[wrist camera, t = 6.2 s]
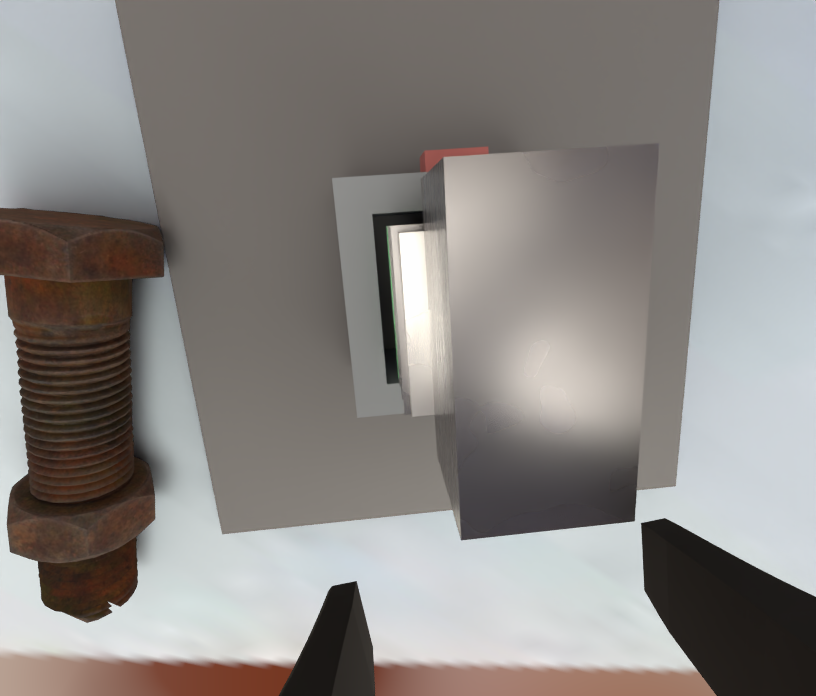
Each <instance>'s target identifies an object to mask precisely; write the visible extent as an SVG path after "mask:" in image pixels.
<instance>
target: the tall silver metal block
mask: <svg viewBox="0 0 816 696" xmlns="http://www.w3.org/2000/svg"><path fill="white" fill-rule="evenodd" d="M658 156H659V143H653V144H638V145H622V146H607V147H591V148H576V149H560V150H545V151H529V152H514V153H498V154H483V155H467V156H451V157H443V158H442V159H441V160H440V161H439V162H438V163H437V164H436V165H435V166H434V167H433V168H432V169H431V170H430V171H429V172H427V173H426V174H425V175H424V176H423V177H422V178H421V191H422V208H423V223H422V224H408V225H395V226H386V233H387V245H388V258H389V271H390V283H391V296H392V309H393V321H394V334H395V347H396V359H397V372H398V378H399V384H400V386H401V395H402V400H403V402H404V413H405V415H409V414H412V417H416V416H427V415H435V429H436V446H437V457H438V460H439V464H440V467H441V471H442V474H443V478H444V482H445V485H446V489H447V492H448V496H449V499H450V503H451V506H452V510H453V513H454V517H455V520H456V524H457V528H458V531H459V535H460V538H461V540H468V539H477V538H486V537H496V536H505V535H514V534H523V533H532V532H541V531H550V530H559V529H568V528H578V527H587V526H596V525H605V524H614V523H623V522H632V521H635V507H636V491H637V476H638V461H639V446H640V431H641V415H642V400H643V385H644V370H645V354H646V339H647V324H648V309H649V294H650V278H651V263H652V248H653V233H654V217H655V202H656V187H657V172H658Z"/></svg>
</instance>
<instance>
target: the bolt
mask: <svg viewBox="0 0 816 696" xmlns="http://www.w3.org/2000/svg"><path fill="white" fill-rule="evenodd" d="M0 275H4V279H5V288H6V298H7V307H8V316H9V317H10V318H11V319H12V322H13V326H14V327H15V330H14V335H15V336H16V337H17V340H16V342H15V343H16V346H17V347H18V350H17V352H16V353H17V355H18V357H19V360H18V362H17V363H18V366H19V367H20V368H19V370H18V375H19V376H20V377H21V378H20V379H19V384H20V386H21V387H22V388H21V390H20V391H19V392H20V395H21V396H22V399H21V405H22V406H23V407H22V413H23V414H24V416H23V423H24V429H23V430H24V431H25V433H26V434H25V441H26V444H25V445H26V449H27V453H26V454H27V458H28V459H29V460H28V462H27V464H28V467H29V470H28V474H27V475H26V476H24V477H23V478H22V479H21V480H20V481H18V482H17V483H16V484H15V485H14V486H13V487H12V490H11V493H10V497H9V505H8V516H7V530H8V538H9V547H10V552H11V553H14V554H17V555H20V556H23V557H26V558H28V559H31V560H35V561H38V569H39V578H40V587H41V599H42V601H43V603H44V605H45V606H47V607H48V608H50V609H52V610H54V611H59V612H64V613H66V614H68V615H70V616H73V617H75V618H77V619H80V620H82V621H84V622H87V623H88V622H92V621H95V620H99V619H100V618H102V617H104V616H106V615H108V614H110V613H112V611H111V610H110V609H109V607H111V605H110V604H109V603H108V602H110V603H113V604H115V605H118V606H120V607H121V606H122V605H123V604H124V603H126V602H127V601H128V600H129V598H130V597H131V596H132V594H133V593H134V591H135V589H136V587H137V583H138V580H137V576H138V570H137V549H136V541H137V539H136V536H137V535H139V534H140V533H141V532H142V531H143V530H144V529H145V528H146V527H147V526H148V525H149V524H150V523H151V522H152V521H154V520H155V493H154V486H153V480H152V475H151V470H150V467H149V465H148V463H146V462H144V461H143V460H141V459H139V458H137V457H134V456H133V455H134V449H133V446H134V442H133V437H134V436H133V434H132V430H133V426H132V401H131V399H132V393H131V390H132V385H131V380H132V377H131V376H130V374H131V372H132V369H131V367H130V365H131V359H130V355H131V351H130V349H129V348H130V340H129V339H130V332H129V331H128V330H129V329H130V318H131V317H132V279H140V278H156V277H164V245H163V239H162V235H161V232H160V230H159V228H158V227H157V226H155V225H151V224H146V223H142V222H137V221H131V220H125V219H117V218H110V217H105V216H98V215H88V214H78V213H68V212H55V211H43V210H32V209H25V208H17V209H10V208H0Z"/></svg>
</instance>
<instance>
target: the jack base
mask: <svg viewBox="0 0 816 696" xmlns="http://www.w3.org/2000/svg"><path fill="white" fill-rule="evenodd" d="M115 3H116V8H117V13H118V18H119V23H120V28H121V33H122V38H123V43H124V48H125V53H126V58H127V63H128V68H129V73H130V78H131V83H132V87H133V92H134V97H135V102H136V107H137V112H138V117H139V122H140V127H141V132H142V137H143V142H144V147H145V152H146V157H147V162H148V167H149V172H150V177H151V182H152V187H153V192H154V197H155V202H156V207H157V212H158V217H159V222H160V227H161V232H162V237H163V242H164V247H165V252H166V257H167V262H168V267H169V272H170V277H171V281H172V286H173V291H174V296H175V301H176V306H177V311H178V316H179V321H180V326H181V331H182V336H183V341H184V346H185V351H186V356H187V361H188V366H189V371H190V376H191V381H192V386H193V391H194V396H195V401H196V406H197V411H198V416H199V421H200V426H201V431H202V436H203V441H204V446H205V451H206V456H207V461H208V466H209V471H210V476H211V480H212V485H213V490H214V495H215V500H216V505H217V510H218V515H219V520H220V525H221V530H222V534H229V533H238V532H248V531H257V530H266V529H276V528H285V527H295V526H304V525H314V524H323V523H332V522H342V521H351V520H361V519H370V518H380V517H389V516H399V515H408V514H417V513H427V512H436V511H446V510H452V506H451V503H450V499H449V496H448V492H447V489H446V485H445V482H444V478H443V474H442V471H441V467H440V464H439V460H438V457H437V446H436V429H435V415H427V416H416V417H412V414H409V415H405V413H404V402H403V400H402V395H401V386H400V384H399V378H398V372H397V359H396V347H395V334H394V321H393V309H392V296H391V283H390V271H389V258H388V245H387V233H386V226H395V225H408V224H422V223H423V208H422V191H421V178H422V177H423V176H424V175H425V174H426V173H427V172H429V171H430V170H431V169H432V168H433V167H434V166H435V165H436V164H437V163H438V162H439V161H440V160H441V159H442V158H443V157H451V156H467V155H483V154H498V153H514V152H529V151H545V150H560V149H576V148H591V147H607V146H622V145H638V144H653V143H659V156H658V172H657V187H656V202H655V217H654V233H653V248H652V263H651V278H650V294H649V309H648V324H647V339H646V354H645V370H644V385H643V400H642V415H641V431H640V446H639V461H638V476H637V490H644V489H653V488H663V487H672V486H676V476H677V465H678V454H679V443H680V431H681V420H682V409H683V398H684V387H685V376H686V365H687V354H688V343H689V331H690V320H691V309H692V298H693V287H694V276H695V265H696V254H697V243H698V231H699V220H700V209H701V198H702V187H703V176H704V165H705V154H706V143H707V132H708V120H709V109H710V98H711V87H712V76H713V65H714V54H715V43H716V32H717V20H718V9H719V0H115Z"/></svg>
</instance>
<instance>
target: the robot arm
mask: <svg viewBox="0 0 816 696" xmlns="http://www.w3.org/2000/svg"><path fill="white" fill-rule="evenodd" d="M641 528H642V549H643V569H644V590H645V592H646V594H647V595H648V597H649V599H650V601H651V602H652V604H653V606H654V608H655V609H656V611H657V613H658V614H659V616H660V618H661V619H662V621H663V623H664V624H665V626H666V627H667V629H668V631H669V632H670V634H671V635H672V636H673V638H674V639H675V641H676V642H677V643H678V645H679V646H680V647H681V649H682V650H683V651H684V653H685V654H686V655H687V657H688V658H689V659H690V661H691V662H692V663H693V665H694V666H695V667H696V669H697V670H698V671H699V673H700V674H701V675H702V677H703V678H704V679H705V681H706V682H707V683H708V685H709V686H710V687H711V689H712V690H713V691H714V693H715V694H716V695H717V696H816V597H815V596H813V595H811V594H808V593H806V592H804V591H802V590H800V589H798V588H796V587H794V586H792V585H790V584H788V583H786V582H784V581H782V580H780V579H778V578H776V577H774V576H772V575H770V574H768V573H766V572H764V571H762V570H760V569H758V568H756V567H754V566H752V565H750V564H749V563H747V562H745V561H743V560H741V559H739V558H737V557H735V556H734V555H732V554H730V553H728V552H726V551H724V550H723V549H721V548H719V547H717V546H715V545H713V544H712V543H710V542H708V541H706V540H704V539H703V538H701V537H699V536H697V535H695V534H694V533H692V532H690V531H688V530H686V529H684V528H683V527H681V526H679V525H677V524H675V523H673V522H671V521H669V520H667V519H665V518H664V519H659V520H654V521H649V522H644V523H641ZM374 683H375V682H374V662H373V646H372V642H371V638H370V634H369V630H368V626H367V622H366V618H365V614H364V610H363V606H362V602H361V598H360V593H359V589H358V585H357V581H355V582H350V583H345V584H340V585H335V586H332V587H331V588H330V590H329V591H328V593H327V596H326V599H325V601H324V603H323V606H322V608H321V611H320V613H319V615H318V618H317V620H316V622H315V624H314V627H313V629H312V631H311V633H310V636H309V638H308V640H307V642H306V644H305V646H304V648H303V650H302V652H301V654H300V656H299V658H298V660H297V662H296V664H295V666H294V668H293V670H292V672H291V674H290V676H289V678H288V680H287V682H286V683H285V685H284V687H283V689H282V691H281V693H280V695H279V696H375V684H374Z"/></svg>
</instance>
